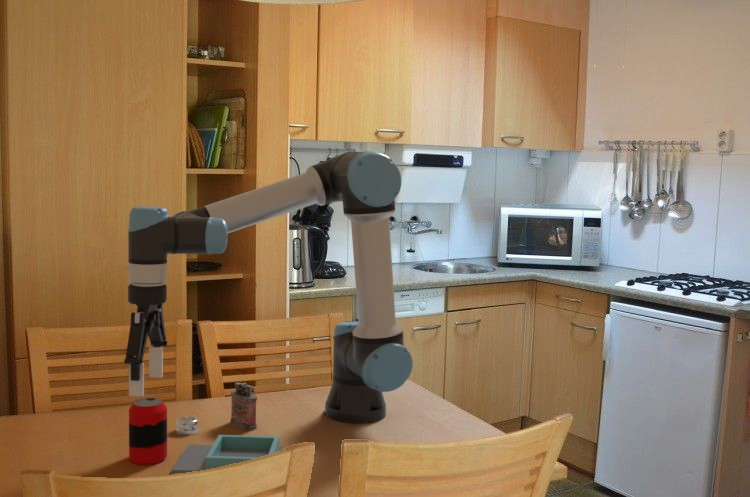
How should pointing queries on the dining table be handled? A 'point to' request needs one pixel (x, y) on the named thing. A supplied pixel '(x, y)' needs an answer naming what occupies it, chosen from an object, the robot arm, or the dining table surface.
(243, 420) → the lighter
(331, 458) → the dining table surface
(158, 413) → the soda can
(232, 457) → the dock
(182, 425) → the grooved metal pulley
